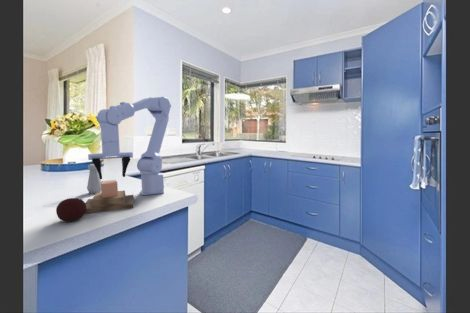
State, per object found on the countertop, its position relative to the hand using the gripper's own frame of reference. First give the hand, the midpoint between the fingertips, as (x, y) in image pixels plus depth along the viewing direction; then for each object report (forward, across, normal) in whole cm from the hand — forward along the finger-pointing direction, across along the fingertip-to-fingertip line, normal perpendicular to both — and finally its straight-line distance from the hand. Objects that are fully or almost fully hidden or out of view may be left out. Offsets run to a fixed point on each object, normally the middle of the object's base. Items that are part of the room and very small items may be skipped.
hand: (112, 177), depth 85 cm
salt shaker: (+10, +6, -22) cm, 25 cm away
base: (+10, +2, +1) cm, 10 cm away
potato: (+10, +13, +11) cm, 20 cm away
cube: (+6, +1, +1) cm, 7 cm away
